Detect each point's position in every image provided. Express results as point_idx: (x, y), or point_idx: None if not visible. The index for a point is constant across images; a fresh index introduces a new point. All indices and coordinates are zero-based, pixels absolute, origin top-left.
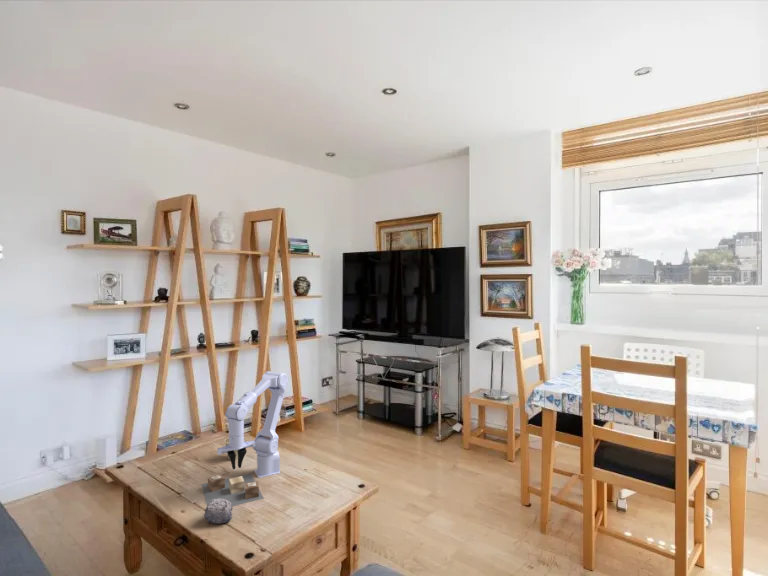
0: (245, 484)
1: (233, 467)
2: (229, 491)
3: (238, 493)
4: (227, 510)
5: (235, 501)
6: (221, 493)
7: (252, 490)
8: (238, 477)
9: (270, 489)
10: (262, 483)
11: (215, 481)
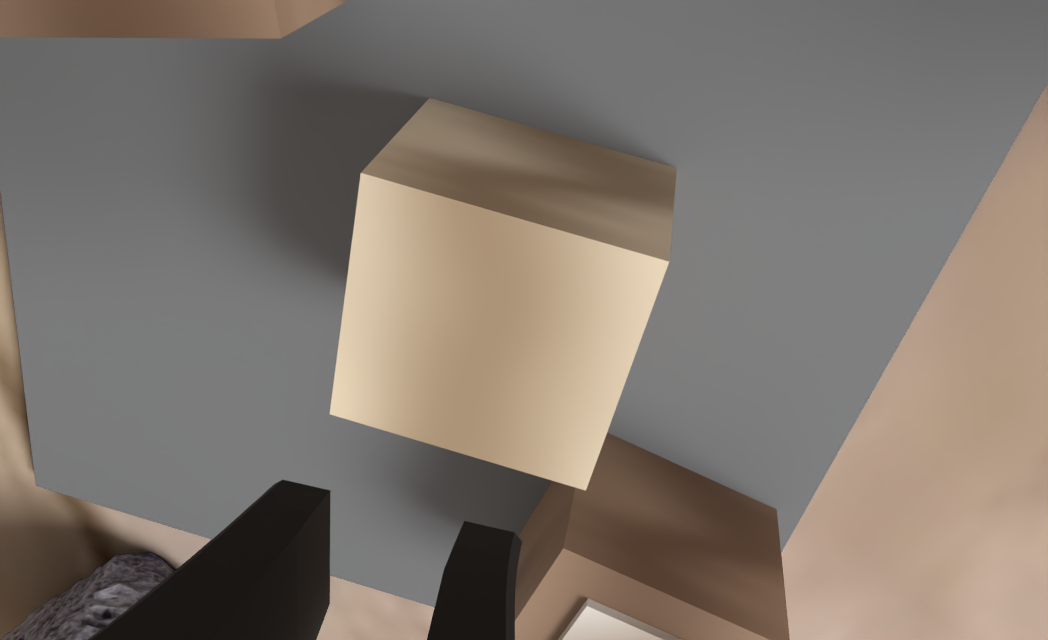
0: (541, 591)
1: None
2: None
3: None
4: None
5: (376, 511)
6: (260, 170)
7: None
8: (568, 267)
9: (957, 568)
10: (1037, 330)
11: (56, 37)
